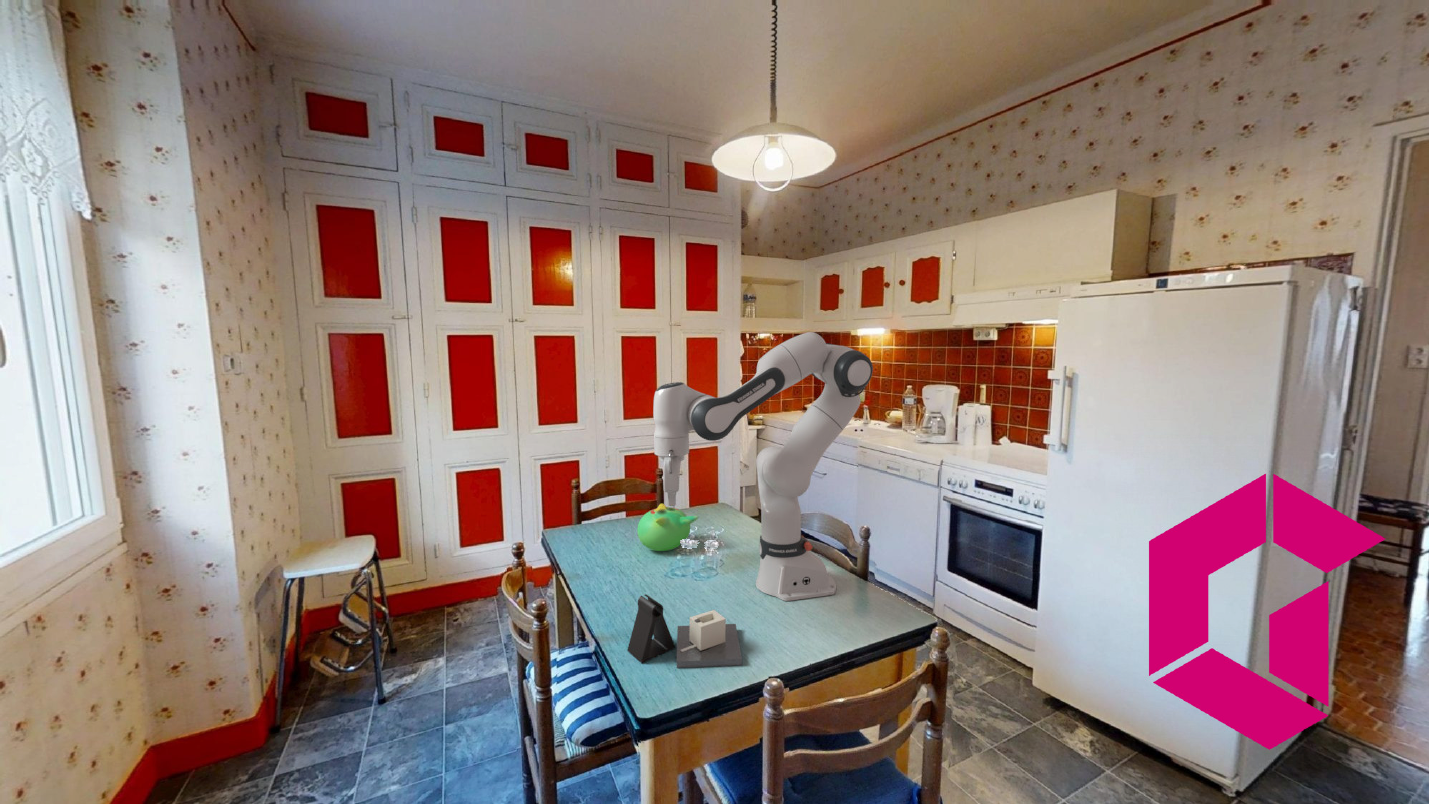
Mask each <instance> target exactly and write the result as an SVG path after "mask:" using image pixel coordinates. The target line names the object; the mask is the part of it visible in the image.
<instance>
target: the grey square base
mask: <svg viewBox="0 0 1429 804" xmlns="http://www.w3.org/2000/svg"><path fill="white" fill-rule="evenodd" d="M707 622H708V621H707ZM689 632H690V625H677V632H676V633H677V635H676V640H677V641H676V669H686V668H687V669H688V668H689V669H690V668H709V667H710V668H712V667H733V666H735V667H737V666H742V665H743V658H742V652H741V647H740V640H739V636H738V635H739V634H738V629H737V624H736V623H726V628H725V642H724V643H721V644H718V645H715V646H713V647H710V648H707V649H704V650H701V651H700V650H699V649H698V648H697V647H696V646H695V645H694V644H693V643H692V642H690V641H689Z"/></svg>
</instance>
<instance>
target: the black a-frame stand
mask: <svg viewBox="0 0 1429 804" xmlns="http://www.w3.org/2000/svg"><path fill="white" fill-rule="evenodd" d="M636 612H637V613H636V617H635V620H634V624H633V626H632V631H631V635H630V639H629V643H628V646H627V649H626V650H627V652H628V653H629V654H631V655H632V657H634V658H635V659H636V660H637V661H638V662H640V663H641V664H645V663H647V662H649V661H651V660H653V659H656V658H658V657H659V656H662V655H665V654H666V653H669V652H671V651H672V650H675V648H676V644H675V643H674V640H673V637H672V635H671V632H670V629H669V627H668V624H667V622H666V620H665V616H664V606H663V604H661V603H660V602H658V601H657V600H655V599H654V598H652V597H651V596H649V595H648V594H646V593H645V594H644V596H643V595H640V596H639V597H638V600H637V611H636Z"/></svg>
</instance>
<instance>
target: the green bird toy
mask: <svg viewBox="0 0 1429 804" xmlns="http://www.w3.org/2000/svg"><path fill="white" fill-rule="evenodd" d="M698 519H699V516H698V515H686V514H685V513H684V512H683V511H682V510H680V509H679V508H675V507H673V506H666V505H665V504H664V503H659V505H658V506H657V508H653V509H651V510H649V511H648V512H646V513H644V515H643V516H641V518H640V520H639V522H638V524H637V536H638V539H639V541H640V542H641V544H642V545H643V546H645V548H647V549H649V550H651V551H654V552H655V551H656V552H666V551H671V550H674V549H676V548H678V547H680V546H681V545H680V540H682V539H686V538H687V539H688V537H689V536H690V532H691V524H693V523H694V522H697V520H698ZM687 539H686V540H687ZM679 545H680V546H679Z"/></svg>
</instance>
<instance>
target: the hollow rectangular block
mask: <svg viewBox="0 0 1429 804" xmlns="http://www.w3.org/2000/svg"><path fill="white" fill-rule="evenodd" d="M707 621H708V622H707ZM726 622H727V621H726V618H725V617H724V616H723V615H721V614H720V613H719V612H717V611H716V610H715V609H713V610H709V611H706V612H703V613H699V614H696V615H693V616H690V617H689V626H690V632H689V641H690V642H692V643H693V644H694V645H695V646H696V647H697V648H698V649H699V650H700V651H701V650H704V649H707V648H710V647H713V646H715V645H718V644H721V643H724V642H725V628H726V624H727V623H726Z"/></svg>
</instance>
